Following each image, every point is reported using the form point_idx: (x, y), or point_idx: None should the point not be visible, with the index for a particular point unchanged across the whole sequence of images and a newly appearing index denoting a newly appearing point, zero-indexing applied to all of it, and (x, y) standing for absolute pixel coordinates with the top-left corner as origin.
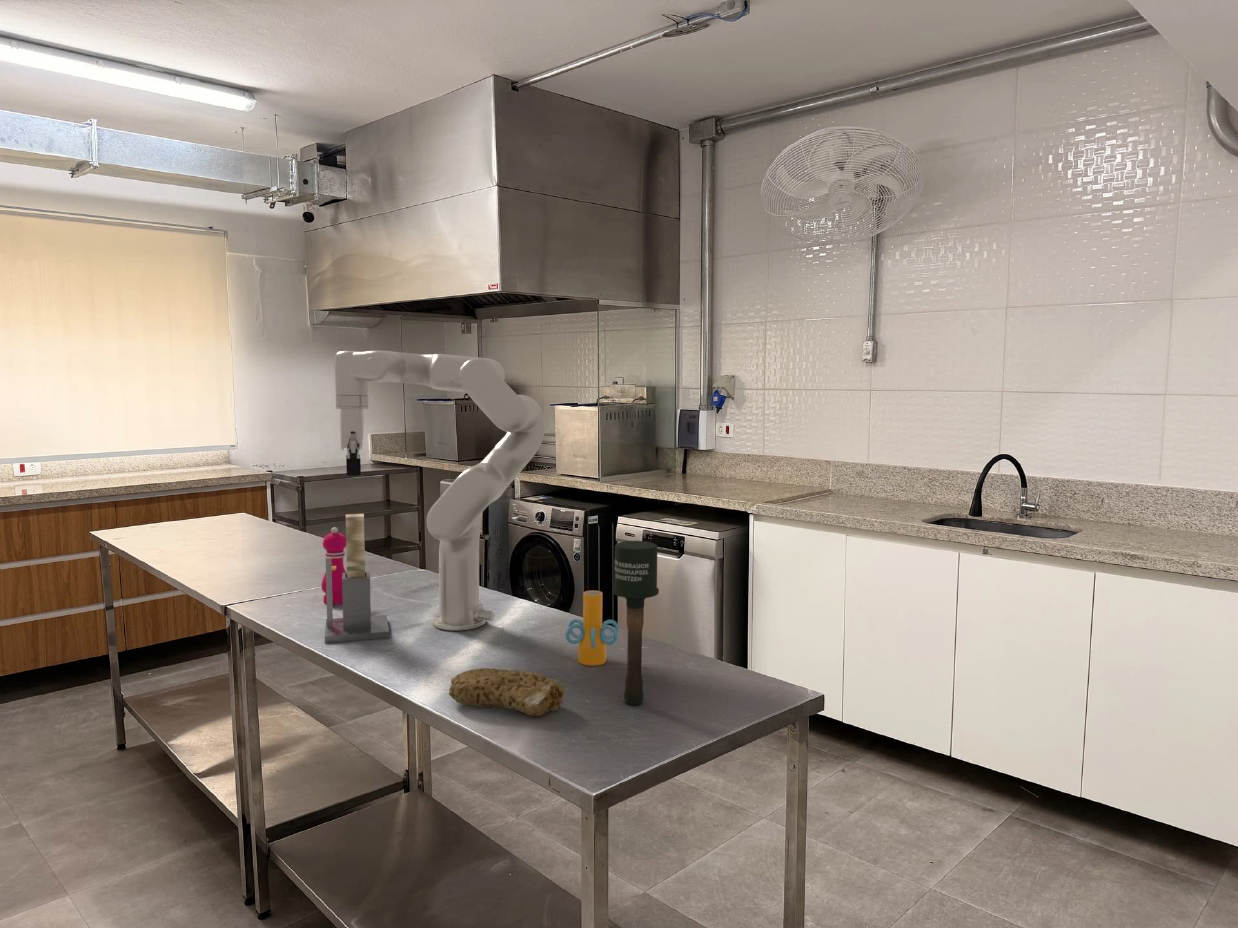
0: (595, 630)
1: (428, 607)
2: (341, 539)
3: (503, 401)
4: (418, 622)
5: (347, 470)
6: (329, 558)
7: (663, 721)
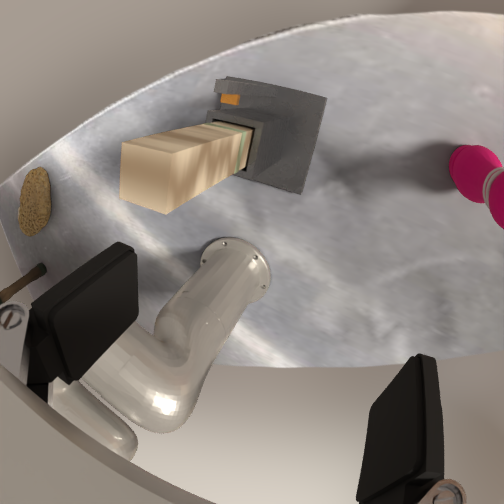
0: None
1: (338, 274)
2: (498, 213)
3: None
4: (268, 228)
5: (98, 261)
6: (214, 88)
7: (28, 262)
